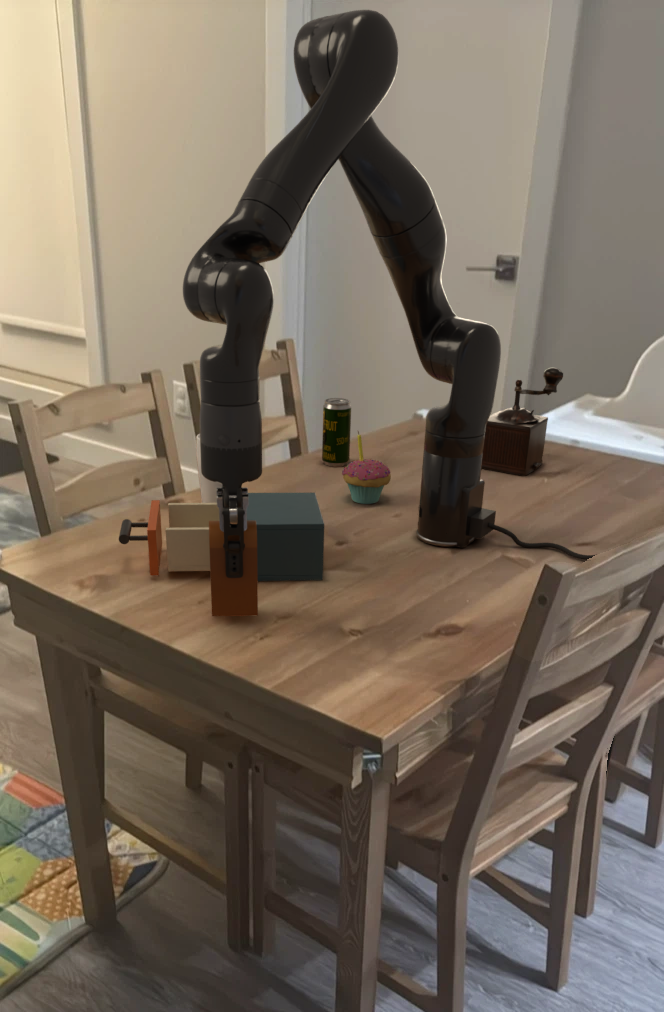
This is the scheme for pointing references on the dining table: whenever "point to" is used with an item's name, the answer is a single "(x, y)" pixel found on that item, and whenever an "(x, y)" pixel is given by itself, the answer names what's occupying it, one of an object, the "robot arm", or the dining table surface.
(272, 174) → the robot arm
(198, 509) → the drawer
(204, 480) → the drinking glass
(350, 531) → the dining table surface
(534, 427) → the manual coffee grinder
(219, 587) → the bread
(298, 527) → the cabinet
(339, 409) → the green drink can
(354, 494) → the cupcake
